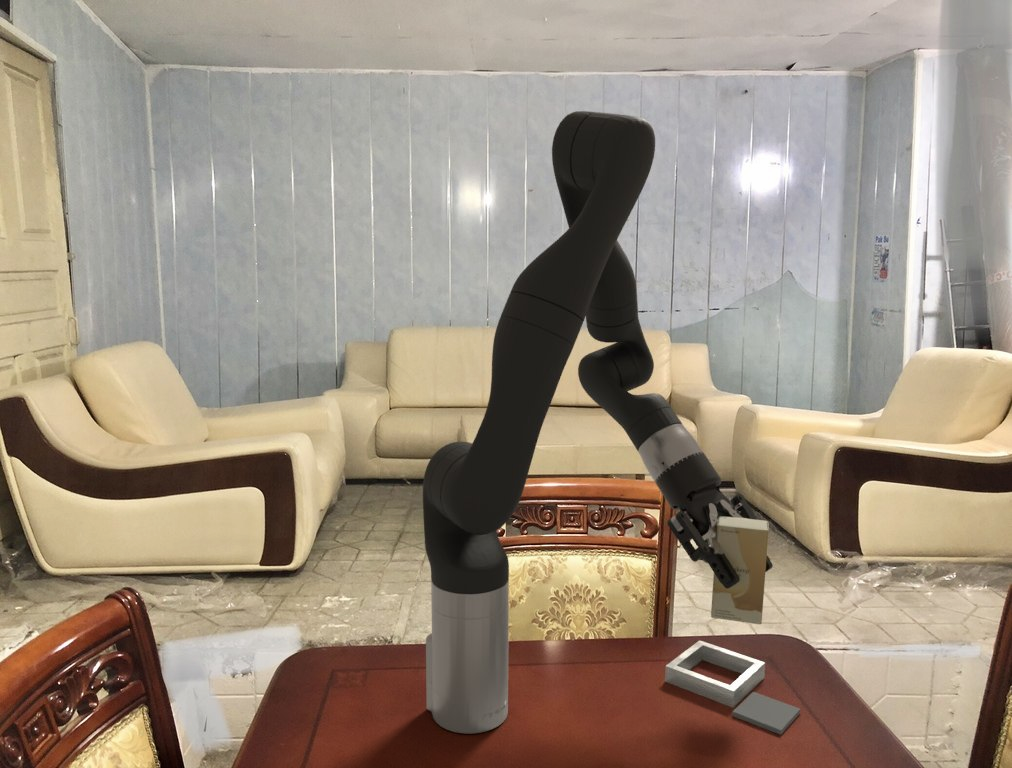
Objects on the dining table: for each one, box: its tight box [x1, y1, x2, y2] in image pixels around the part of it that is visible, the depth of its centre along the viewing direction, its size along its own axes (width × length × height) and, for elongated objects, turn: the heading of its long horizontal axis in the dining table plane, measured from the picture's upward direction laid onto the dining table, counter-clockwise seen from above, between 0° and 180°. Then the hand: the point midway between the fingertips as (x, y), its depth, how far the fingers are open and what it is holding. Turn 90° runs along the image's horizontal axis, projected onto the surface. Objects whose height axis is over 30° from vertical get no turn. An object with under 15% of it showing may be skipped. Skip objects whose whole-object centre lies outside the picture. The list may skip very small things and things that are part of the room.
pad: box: [732, 691, 801, 736], centre depth 98 cm, size 6×6×1 cm
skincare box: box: [710, 516, 770, 625], centre depth 101 cm, size 6×4×12 cm
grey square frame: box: [664, 640, 766, 709], centre depth 106 cm, size 10×10×2 cm
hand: (750, 577), depth 100 cm, fingers closed on skincare box, 6 cm apart
